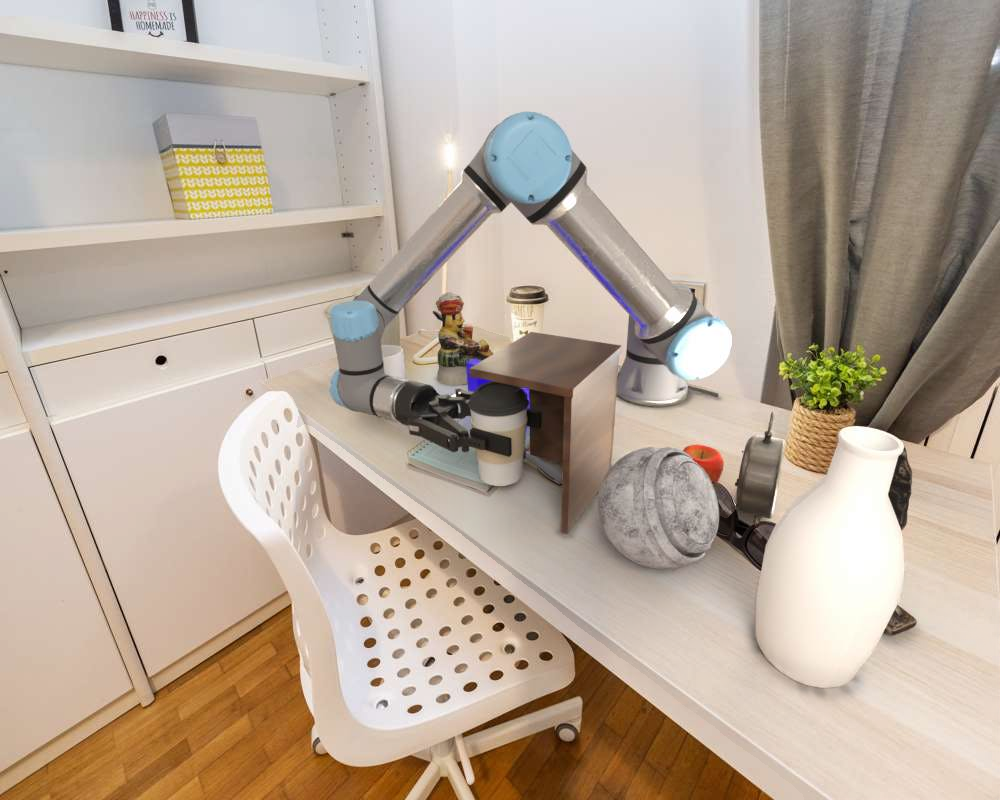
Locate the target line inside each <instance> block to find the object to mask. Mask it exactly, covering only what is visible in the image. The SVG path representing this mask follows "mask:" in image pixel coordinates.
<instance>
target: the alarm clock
mask: <svg viewBox="0 0 1000 800" xmlns="http://www.w3.org/2000/svg"><path fill="white" fill-rule="evenodd" d="M774 419H775V411H771V413H770V418H769V422H768V428H767V430H765V431H764V435H760V434H759V435H758V434H756V435H752V436H751V437H750V438H748V439H747V442H746V443H745V447H744V450H741V453H742V458H741V462H740V467H739V473H738V478H736V481H735V482H734V486H735V487H736V497H735V500H736V501H735V502H736V504H735V505H734V508H735V509H736V508H738V509H739V510H740V511H741V512H742V513H744V514H745V513H746V514H749V515H753V516H754V517H753V518H754V519H753V525H754V524H755V523H757V522H759V523H760V522H761V518H766V519H772V517H773V515H774V511H775V506H776V505H775V504H776V501H777V496H778V491H779V484H780V479H781V474H782V467H783V460H784V455H785V449H786V440H785V439H784V438H775V437H773V432H772V431H771V430H772V427H773V424H774V423H773V422H774Z"/></svg>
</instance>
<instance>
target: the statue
mask: <svg viewBox="0 0 1000 800" xmlns="http://www.w3.org/2000/svg"><path fill="white" fill-rule="evenodd" d="M912 485H913V470H912V467H911V465H910V463H909V459H908V452H907V448H906V446H904V450H903V452H902V453H901V454H900V455H899V456H898V459H897V463H896V467H895V470H894V474H893V478H892V481H891V485H890V489H889V492H888V497H889V499H890V502H891V504H892V507H893V510H894V512H895V515H896V518H897V520H898V523H899V525H900V528H901V531H902V532H903V530H904V529H905V527H906V526H907V524H908V510H909V507H910V506H909V505H910V499H911V495H912ZM917 623H918V621H917V619H916V618H915V617H914V616H913V615H912V614H911V613H909V612H908V611H906V610H905V609H904V608H903V607H901V606H900V605H899V604H897V606H896V608H895V610H894V612H893V614H892V616H891V618H890V620H889V622H888V624H887V626H886V628H885V630H884V632H885V633H886V634H888V635H890V636H894V635H898V634H901V633H903V632H906V631H908V630H911V629H913V628H915V627H916V626H917Z"/></svg>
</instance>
